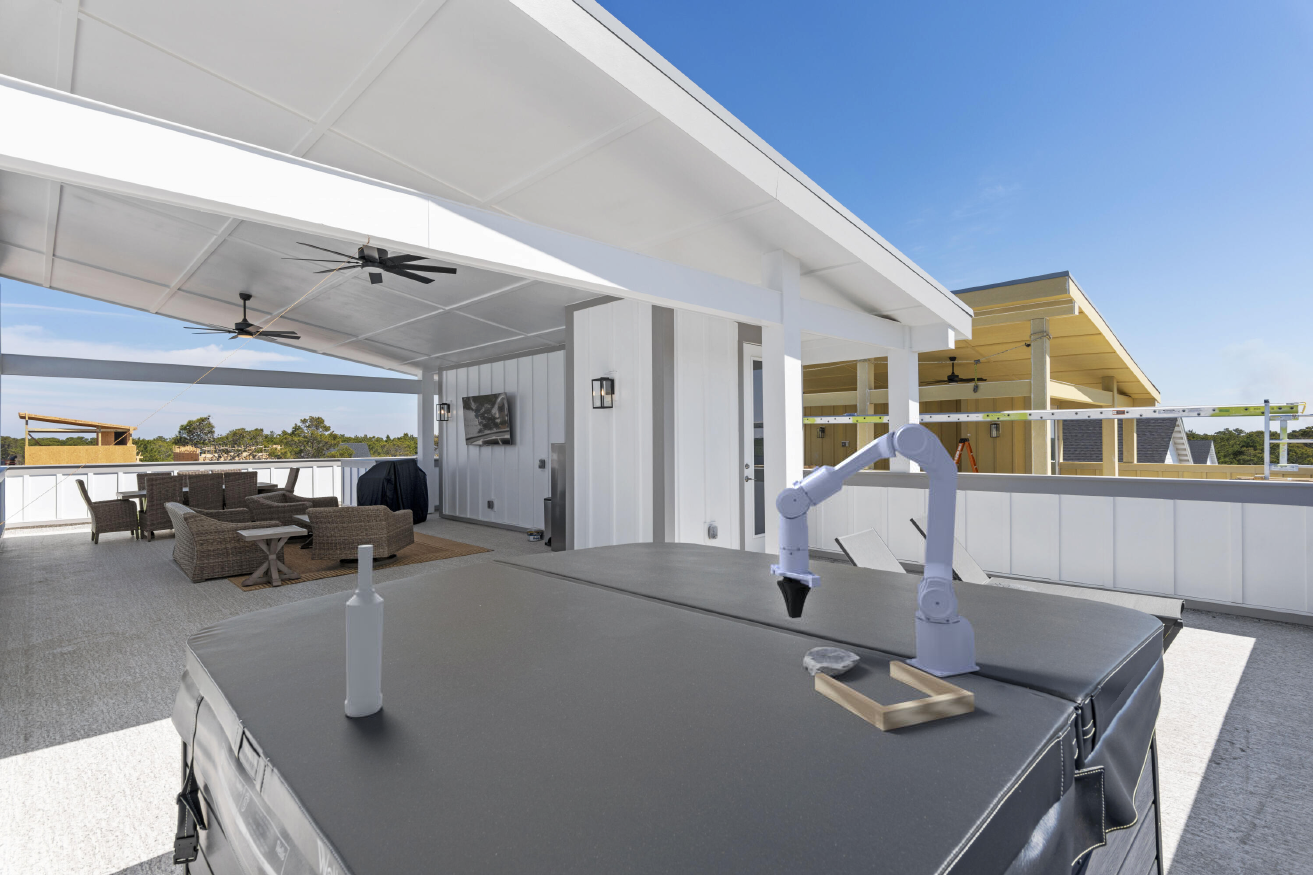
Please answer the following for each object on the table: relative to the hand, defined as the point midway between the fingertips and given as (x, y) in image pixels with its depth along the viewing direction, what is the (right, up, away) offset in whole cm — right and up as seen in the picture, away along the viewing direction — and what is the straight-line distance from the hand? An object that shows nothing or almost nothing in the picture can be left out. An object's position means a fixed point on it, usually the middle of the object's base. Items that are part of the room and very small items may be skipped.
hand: (794, 616), depth 114 cm
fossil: (+4, -6, -11) cm, 13 cm away
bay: (+9, -5, -24) cm, 26 cm away
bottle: (-72, -6, -26) cm, 77 cm away
